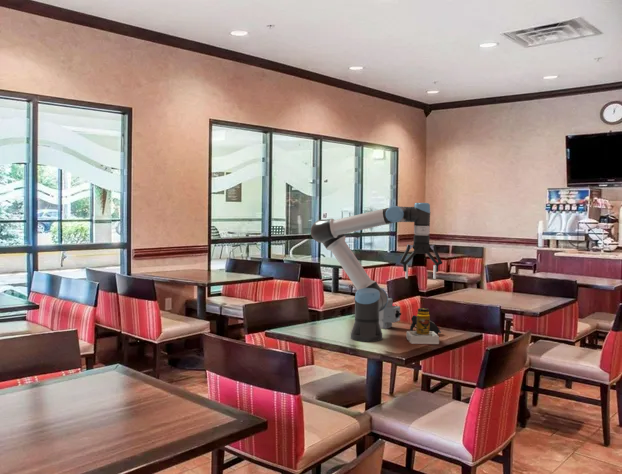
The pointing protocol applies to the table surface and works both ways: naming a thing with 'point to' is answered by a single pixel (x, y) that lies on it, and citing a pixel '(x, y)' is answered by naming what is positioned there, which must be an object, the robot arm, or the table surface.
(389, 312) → the circuit breaker
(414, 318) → the gun
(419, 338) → the tray
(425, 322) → the condiment
